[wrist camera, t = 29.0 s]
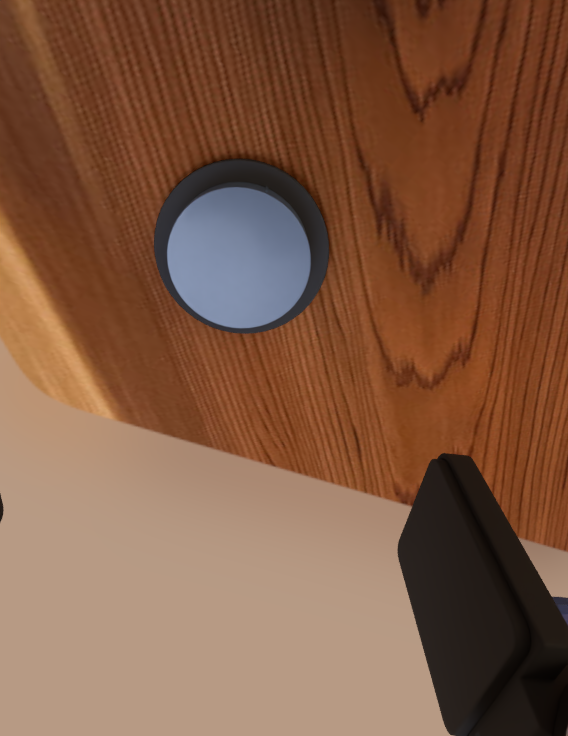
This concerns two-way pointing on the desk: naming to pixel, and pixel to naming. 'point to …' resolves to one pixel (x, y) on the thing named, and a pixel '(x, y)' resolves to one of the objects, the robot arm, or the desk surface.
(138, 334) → the desk surface
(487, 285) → the desk surface
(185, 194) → the coaster
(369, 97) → the desk surface
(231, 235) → the jar lid
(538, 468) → the desk surface
